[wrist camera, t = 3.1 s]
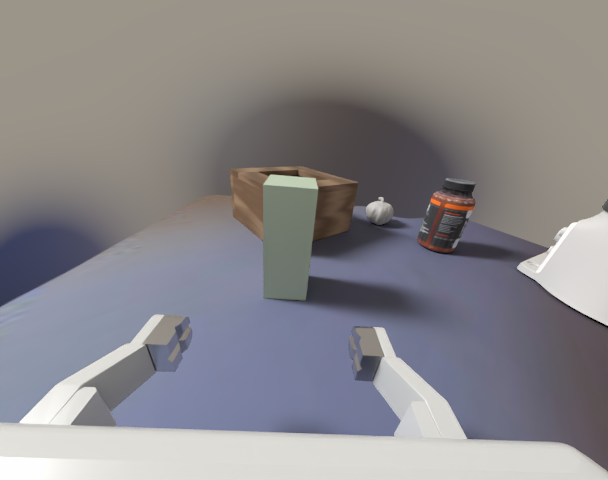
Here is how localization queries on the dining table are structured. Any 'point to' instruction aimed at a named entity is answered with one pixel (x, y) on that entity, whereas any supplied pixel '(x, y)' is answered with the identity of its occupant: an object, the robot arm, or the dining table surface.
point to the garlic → (379, 212)
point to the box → (331, 189)
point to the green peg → (288, 235)
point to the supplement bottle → (447, 216)
